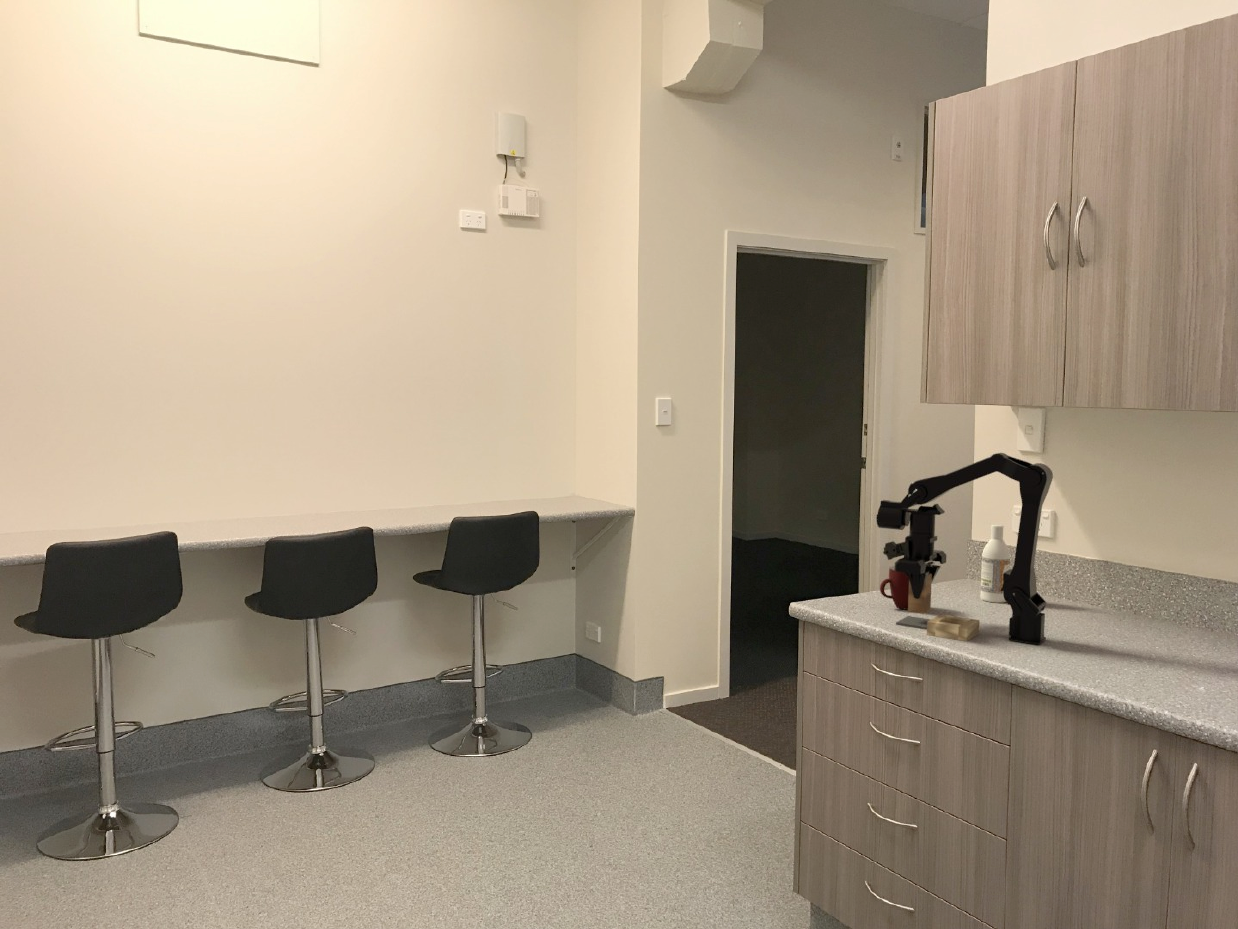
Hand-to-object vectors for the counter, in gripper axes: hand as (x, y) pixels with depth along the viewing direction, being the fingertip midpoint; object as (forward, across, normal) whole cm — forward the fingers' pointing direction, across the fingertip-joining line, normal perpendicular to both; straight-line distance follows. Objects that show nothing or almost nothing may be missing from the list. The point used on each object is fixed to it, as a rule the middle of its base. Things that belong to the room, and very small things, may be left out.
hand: (919, 596), depth 233 cm
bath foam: (+7, -37, +7) cm, 38 cm away
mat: (+6, 0, 0) cm, 7 cm away
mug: (+7, -13, -10) cm, 17 cm away
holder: (+7, +4, +9) cm, 12 cm away
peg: (+4, 0, 0) cm, 4 cm away
